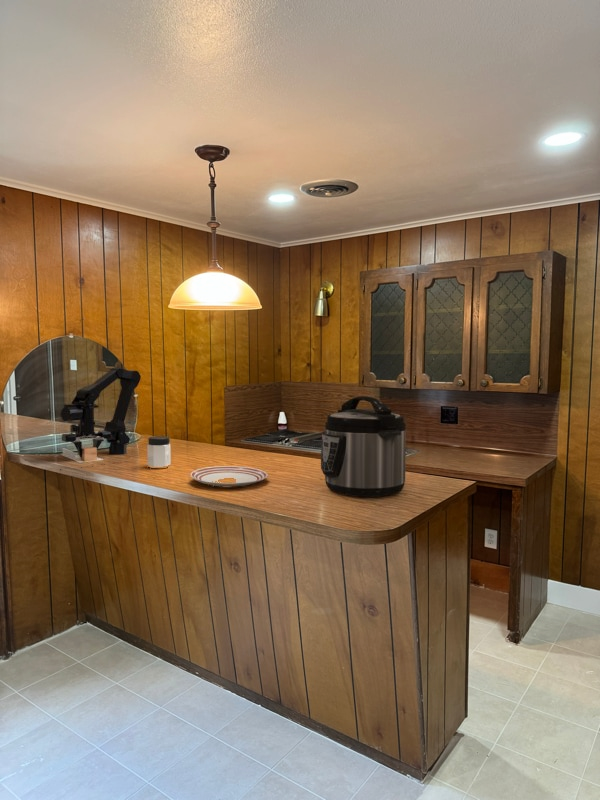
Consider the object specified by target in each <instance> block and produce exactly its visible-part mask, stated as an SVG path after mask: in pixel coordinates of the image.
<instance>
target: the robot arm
mask: <svg viewBox="0 0 600 800" xmlns="http://www.w3.org/2000/svg"><path fill="white" fill-rule="evenodd" d="M141 379H142V377H141V374H140V371H138V370H131V369H130V370H129V369H124V368H121V367H112V368H110V369H109V370H108V371H107V372H106V373H104V374H103V375H102V376H100V377H99V378H98V379H97V380H95V381H94V382H93V383H92V384H90V385H89V384H88V385H86V386H83V387H81V388H79V389H78V390H77V391H76V395H75V396H74V398H73V399H72V401H71V402H70V403H68V404H67V403H64V404H63V408H62V409H61V411H60V418H61V420H63V422H72V421H73V422H74V421H78V423H77V424H74V423H73V424H71V425H70V426H69V427H70V428H69V429H70V432H69V433H68V432H67V433H62V434H61V441H62V442H65V443H69V442H70V443H72V444H73V445H74V447H75V448H76V451H77V452H78V453H77V454H78V455H79V456H80V458H82V447H83V445H82V444H83V443H82V441H81V440H82V439H83V440H84V439H91V440H92V446H93V447H96V448H97V451H98V449H99V448H100V446H101V444H102V442H104V441H105V440H106V442H107V443H108V444H109V446H108V454H109V455H113V456H119V455H121V456H122V455H126V454H127V450H128V449H127V445H128V444H129V443H130V440H131V438H130V437H129V436H128V435H127V434H126V430H127V428H126V424H125V420H126V417H127V414H128V409H129V406H130V402H131V398H132V396H133V392H134V391H135V389H136V388H137V387H138V386H139V384H140V381H141ZM117 380H119V384H120V387H121V388H120V389H121V390H120V393H119V395H118V399H117V403H116V406H115V410H114V413H113V416H112V418H111V420H110V421H106V423H105V427H104V429H103V430H98V431H97V432H96V431H95V425H96V421H95V409H98V408H99V405H97V404H96V401H97V400H98V399H99V397H100V394H101V393H102V392H103V391H104V390H106V389H107V387H109V386H110V385H111V384H113V383H114V382H115V381H117Z"/></svg>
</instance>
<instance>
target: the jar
mask: <svg viewBox="0 0 600 800" xmlns="http://www.w3.org/2000/svg"><path fill="white" fill-rule="evenodd" d="M147 439H148V440H147V441H148V444H147V445H146V448H147V449H146V451H147V454H146V455H147V459H146V460H147V462H146V463H147V464H146V465H148V466H152V467H163V466H168V465H170V464H171V443H170V442H171V441H170V440H171V439H170V437H169V436H165V435H163V436H159V435H158V436H149V437H148V438H147ZM148 466H147V467H148Z"/></svg>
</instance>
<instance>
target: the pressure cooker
mask: <svg viewBox="0 0 600 800" xmlns="http://www.w3.org/2000/svg"><path fill="white" fill-rule="evenodd" d="M360 401H366V402H368V403H370V404H371V406H372V408H373V409H370V408H358V405H359V403H360ZM326 417H327V418H326V422H325V425H324V426H325V427H324V431H322V434H321V435H322V436H321V437H322V438H321V447H320V448H321V449H320V451H321V452H320V454H321V455H320V470H321V471H322V474H323V475H324V481H325V485H326V487H327V488H328V489H329V490H330V491H331V492H334V493H336V494H341V495H345V496H354V497H358V498H360V497H361V498H370V497H371V498H373V497H384V496H387V495H396V494H398V493H400V492H402V490H403V489H404V486H405V483H406V463H407V462H406V454H407V453H406V451H407V450H406V447H407V446H406V442H407V441H406V440H407V439H406V438H407V425H406V422H405V420H404V419H405V418H404V415H402V414H397V413H394V412H392V409H391V408H390V406H389V405H387V404H385V403H384V402H382V401H381V400H379V399H377V398H375V397H371V396H365V395H361V396H355V397H352V398H351V399H349V400H347V401H345V402H344V403H342V404H341V409H340V408H339V409H337V412H335V413H331V414H328V415H327V416H326Z"/></svg>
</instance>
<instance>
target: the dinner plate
mask: <svg viewBox="0 0 600 800" xmlns="http://www.w3.org/2000/svg"><path fill="white" fill-rule="evenodd" d="M189 476H190V478H192V479H193V480H195V481H197V482H199V483H202V484H204V485H206V484H208V485H207V486H209V485H214V486H242V487H245V486H244V485H248V486H251V485H253V484H256V483H258V482H261V481H263V480H265V479H267V478H268V477H269V475H268V472H266V471H264V470H262V469H258V468H253V467H248V466H233V465H221V466H220V465H218V466H209V467H202V468H198V469H195V470H193V471H192V472H190V475H189ZM224 478H234V479H236V483H221V482H220V483H219V482H218V480H219V479H224ZM212 481H213V482H212ZM215 481H217V482H218V483H217V482H216V483H215ZM250 484H251V485H250ZM214 486H213V487H214Z"/></svg>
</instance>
